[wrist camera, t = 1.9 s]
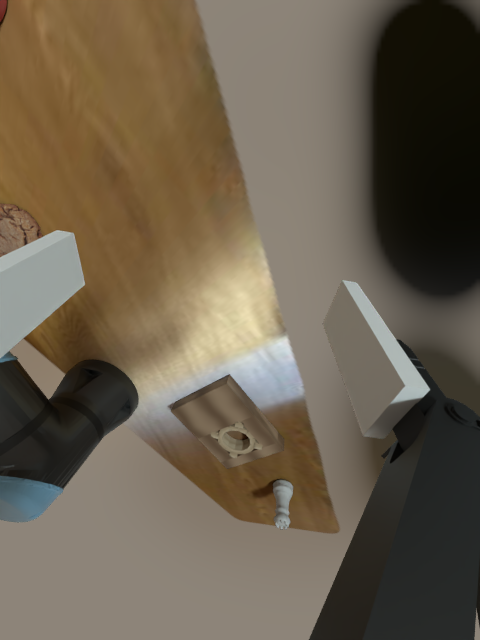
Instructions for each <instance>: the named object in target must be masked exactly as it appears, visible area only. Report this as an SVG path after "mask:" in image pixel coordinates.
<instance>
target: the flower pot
mask: <svg viewBox="0 0 480 640" xmlns="http://www.w3.org/2000/svg"><path fill="white" fill-rule="evenodd" d="M6 7H7V0H0V22H1V20H2V19H3V17H4V14H5V11H6Z"/></svg>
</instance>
